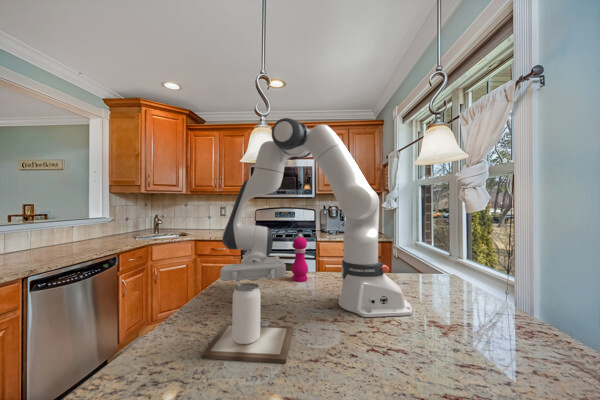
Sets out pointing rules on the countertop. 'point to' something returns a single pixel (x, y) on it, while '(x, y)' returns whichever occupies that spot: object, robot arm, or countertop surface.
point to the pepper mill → (299, 260)
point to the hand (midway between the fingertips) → (253, 277)
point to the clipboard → (252, 345)
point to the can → (246, 313)
